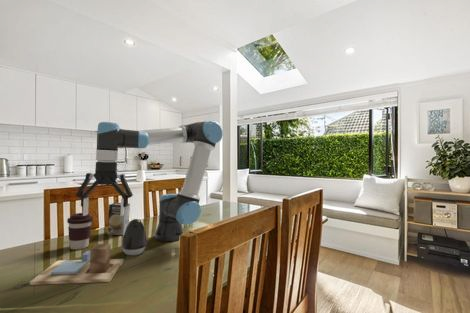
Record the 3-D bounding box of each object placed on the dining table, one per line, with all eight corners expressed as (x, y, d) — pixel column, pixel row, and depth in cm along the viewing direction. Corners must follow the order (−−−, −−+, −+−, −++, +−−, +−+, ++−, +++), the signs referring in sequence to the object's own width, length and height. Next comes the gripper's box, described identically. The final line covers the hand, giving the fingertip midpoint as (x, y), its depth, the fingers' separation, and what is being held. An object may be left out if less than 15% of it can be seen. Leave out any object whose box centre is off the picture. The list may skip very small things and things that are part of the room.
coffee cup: (79, 252, 106) (81, 217, 106) (60, 249, 108) (61, 215, 108) (96, 244, 115) (98, 213, 115) (78, 242, 117) (80, 211, 117)
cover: (91, 258, 96) (91, 250, 96) (76, 273, 84) (76, 264, 84) (69, 259, 94) (69, 251, 94) (50, 274, 82) (51, 265, 82)
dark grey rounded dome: (121, 260, 100) (123, 223, 100) (120, 250, 109) (122, 217, 109) (147, 256, 105) (149, 221, 105) (144, 247, 114) (146, 215, 114)
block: (109, 267, 92) (110, 243, 92) (104, 274, 87) (105, 248, 87) (95, 268, 91) (96, 244, 91) (89, 274, 86) (90, 249, 86)
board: (123, 262, 98) (123, 258, 98) (109, 283, 82) (109, 278, 82) (57, 264, 94) (57, 260, 94) (29, 286, 78) (29, 281, 78)
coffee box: (106, 234, 130) (108, 204, 130) (113, 231, 136) (114, 202, 137) (123, 235, 130) (124, 205, 130) (129, 231, 136) (130, 203, 136)
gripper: (141, 162, 102) (139, 212, 102) (76, 159, 98) (74, 212, 98) (137, 162, 95) (135, 217, 95) (67, 160, 91) (64, 217, 90)
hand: (104, 215), depth 96 cm, fingers open, 13 cm apart
